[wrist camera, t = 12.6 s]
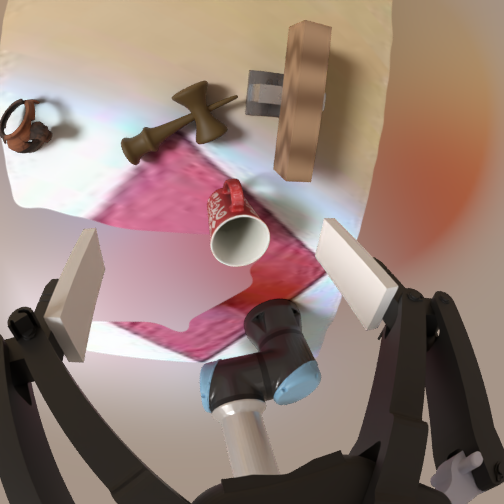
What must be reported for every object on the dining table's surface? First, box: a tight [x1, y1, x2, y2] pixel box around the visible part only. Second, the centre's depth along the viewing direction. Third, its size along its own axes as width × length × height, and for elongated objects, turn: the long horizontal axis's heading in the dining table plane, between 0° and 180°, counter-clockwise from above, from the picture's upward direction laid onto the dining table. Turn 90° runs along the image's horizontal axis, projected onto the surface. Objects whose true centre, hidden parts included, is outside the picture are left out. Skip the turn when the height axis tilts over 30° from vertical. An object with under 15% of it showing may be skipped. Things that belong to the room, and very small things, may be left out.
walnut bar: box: [273, 20, 332, 182], centre depth 35 cm, size 24×4×6 cm, turn 175°
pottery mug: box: [0, 99, 52, 153], centre depth 31 cm, size 12×10×8 cm
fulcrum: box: [245, 70, 326, 117], centre depth 40 cm, size 8×12×6 cm, turn 85°
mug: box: [207, 179, 270, 267], centre depth 46 cm, size 13×9×14 cm
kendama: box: [121, 81, 238, 165], centre depth 39 cm, size 6×10×20 cm
